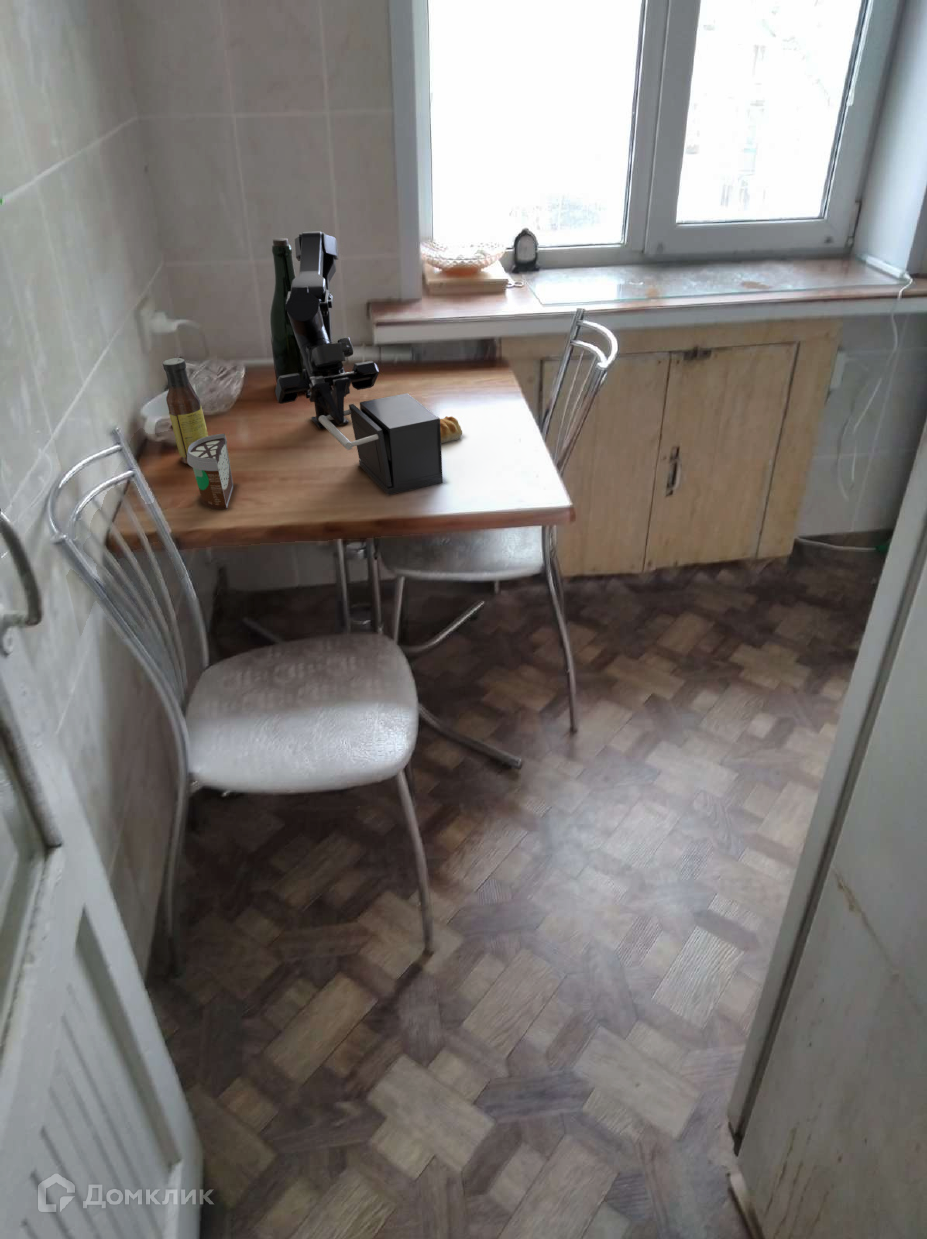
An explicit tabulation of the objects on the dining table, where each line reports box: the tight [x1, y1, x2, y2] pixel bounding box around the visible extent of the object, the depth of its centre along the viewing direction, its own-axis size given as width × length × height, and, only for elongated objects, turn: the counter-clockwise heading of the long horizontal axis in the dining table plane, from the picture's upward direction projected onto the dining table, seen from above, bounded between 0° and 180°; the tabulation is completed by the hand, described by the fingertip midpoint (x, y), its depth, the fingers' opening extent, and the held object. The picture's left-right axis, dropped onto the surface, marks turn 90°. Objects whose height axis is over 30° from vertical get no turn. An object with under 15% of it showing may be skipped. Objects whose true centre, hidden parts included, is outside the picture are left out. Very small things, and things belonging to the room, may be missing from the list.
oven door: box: [319, 403, 392, 487], centre depth 165 cm, size 7×15×11 cm, turn 26°
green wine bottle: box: [268, 237, 305, 394], centre depth 205 cm, size 10×10×33 cm
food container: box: [187, 433, 234, 510], centre depth 162 cm, size 12×6×10 cm, turn 5°
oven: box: [358, 392, 444, 496], centre depth 168 cm, size 11×15×12 cm
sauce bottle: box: [162, 357, 209, 465], centre depth 174 cm, size 6×6×20 cm
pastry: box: [440, 415, 463, 444], centre depth 185 cm, size 9×7×4 cm
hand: (341, 423), depth 165 cm, fingers closed
